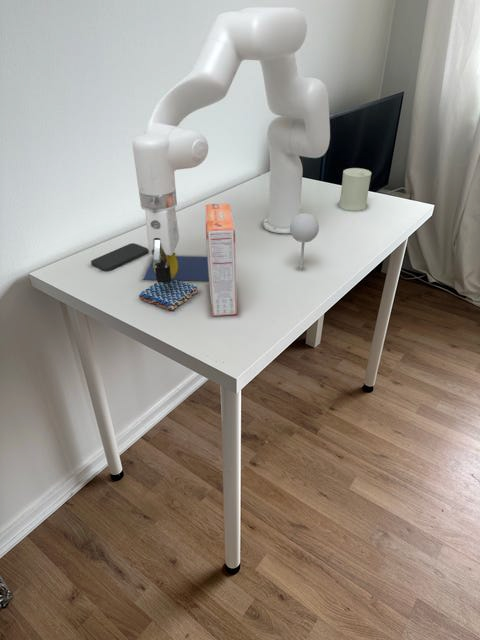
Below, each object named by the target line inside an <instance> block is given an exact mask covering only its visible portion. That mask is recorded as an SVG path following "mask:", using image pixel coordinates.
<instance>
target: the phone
mask: <svg viewBox="0 0 480 640" xmlns="http://www.w3.org/2000/svg"><path fill="white" fill-rule="evenodd" d="M148 253H149V248H147V247H145V246H143V245H140V244H137V243H128V244H126V245H123V246H121V247H119V248H117V249H115V250H112V251H110V252H108V253H105V254H102V255H101V256H99V257H98V256H97V257H96V258H94V259H92V260H91V261H90V264H91V265H92V266H95V267H96V268H98V269H100V270H103V271H106V272H107V271H112V270H114V269H116V268H118V267H120V266H122V265H124V264H126V263H129V262H131V261H133V260H135V259H137V258H140V257H141V256H143V255H146V254H148Z"/></svg>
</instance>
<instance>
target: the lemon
mask: <svg viewBox="0 0 480 640" xmlns="http://www.w3.org/2000/svg"><path fill="white" fill-rule="evenodd" d="M161 253H165V252H164V251H161ZM174 253H175V252H174ZM174 253H173V254H172V255H171V256H169V255H168V266H170V272H171V278H173V277H174V276H175V275H176V273H177V271H178V261H177V258H176V256H177V255H176V253H175V254H174ZM161 259H163V260H164V261H165V257H164V256H161ZM153 267H154V271H155V263H154V261H153ZM155 273H156V271H155Z"/></svg>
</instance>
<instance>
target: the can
mask: <svg viewBox="0 0 480 640" xmlns="http://www.w3.org/2000/svg"><path fill="white" fill-rule="evenodd" d="M371 177H372V171H370V170H369V169H365V168H360V167H351V168H346V169H343V171H342V180H341V181H342V182H341V189H340V197H339V203H338V206H339V208H340V209H343V210H345V211H351V212H358V211H364V210H366V209H367V202H368V195H369V189H370V185H371V184H370V183H371Z"/></svg>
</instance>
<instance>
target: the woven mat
mask: <svg viewBox="0 0 480 640" xmlns="http://www.w3.org/2000/svg"><path fill="white" fill-rule="evenodd" d="M197 289H198V287H197V286H195V285H194V284H189V283H188V282H184V281H178V280H177V279H176V280H175V279H173V278H171V282H170V283H159V282H157V281H156V282H154V283H153V284H152V285H150V286H149V287H147V288H146V289H145V290H142V291H141V293H140V294H139V295H138V297H139V299H141V300H142V301H145V302H147V303H150V304H154V305H157V306H158V307H161V308H163V309H166V310H171V311H173V310H174V309H177V308H178V306H180V305H182V304H183V303H184V302H185V303H187V302H188V299H189V298H191V299H192V297H193V295H195V294H198V290H197Z"/></svg>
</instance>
